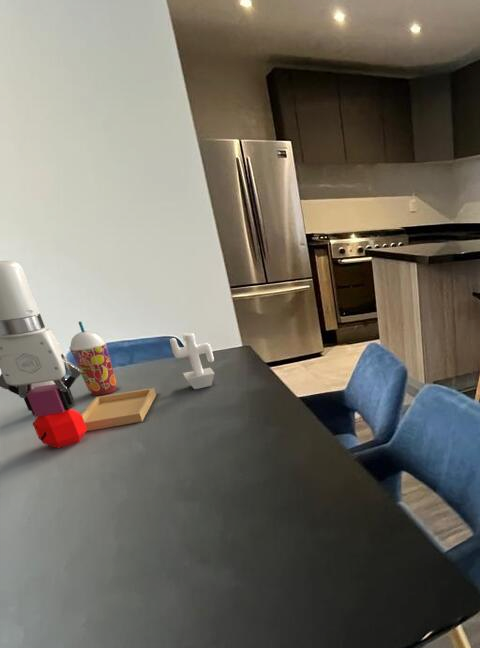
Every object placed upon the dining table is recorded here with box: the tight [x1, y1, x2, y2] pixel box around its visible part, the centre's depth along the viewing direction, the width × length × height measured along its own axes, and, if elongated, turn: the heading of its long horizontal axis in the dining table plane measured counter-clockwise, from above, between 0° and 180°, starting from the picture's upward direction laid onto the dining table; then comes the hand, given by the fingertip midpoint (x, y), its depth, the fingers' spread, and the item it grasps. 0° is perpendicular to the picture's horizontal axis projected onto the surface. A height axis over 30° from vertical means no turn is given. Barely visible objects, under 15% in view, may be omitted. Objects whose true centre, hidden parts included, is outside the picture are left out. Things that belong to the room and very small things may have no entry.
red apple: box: [32, 408, 88, 449], centre depth 106 cm, size 8×8×8 cm
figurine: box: [169, 331, 215, 390], centre depth 136 cm, size 7×9×15 cm
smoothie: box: [69, 321, 118, 396], centre depth 135 cm, size 8×8×20 cm
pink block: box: [26, 384, 65, 418], centre depth 103 cm, size 5×5×5 cm
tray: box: [80, 387, 157, 432], centre depth 122 cm, size 14×20×2 cm
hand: (53, 409), depth 104 cm, fingers closed on pink block, 5 cm apart
